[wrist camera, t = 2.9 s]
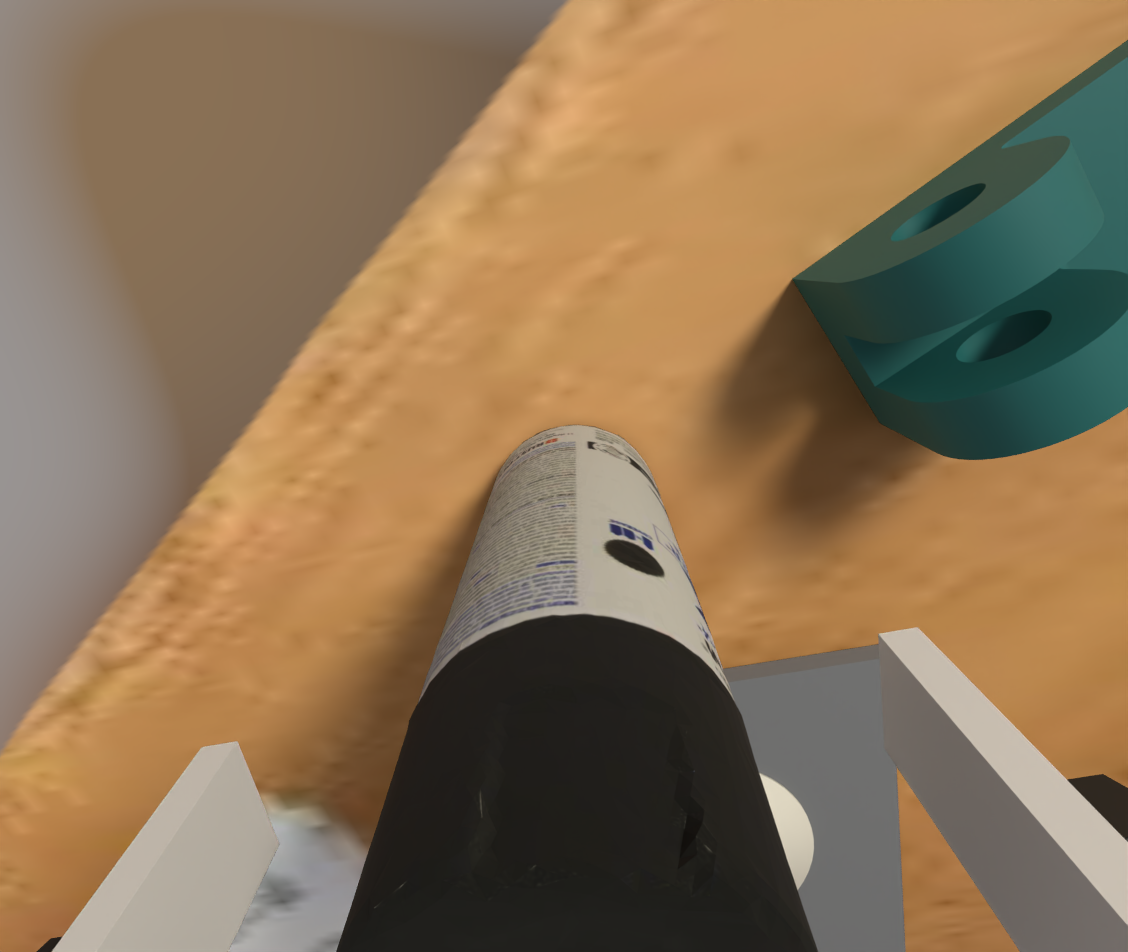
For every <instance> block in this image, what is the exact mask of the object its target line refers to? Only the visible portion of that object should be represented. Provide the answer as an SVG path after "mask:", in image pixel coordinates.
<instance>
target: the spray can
mask: <svg viewBox="0 0 1128 952" xmlns="http://www.w3.org/2000/svg"><path fill="white" fill-rule="evenodd" d="M336 952H818V950H817V947H816V944H815V941H814V938H813V935H812V932H811V929H810V926H809V923H808V920H807V917H806V914H805V911H804V909H803V906H802V903H801V899H800V896H799V893H798V890H797V887H796V884H795V881H794V878H793V875H792V872H791V869H790V866H789V864H788V861H787V858H786V854H785V851H784V848H783V845H782V841H781V838H780V835H779V832H778V829H777V826H776V823H775V820H774V817H773V814H772V811H771V808H770V805H769V801H768V798H767V795H766V792H765V789H764V786H763V783H762V780H761V777H760V774H759V771H758V768H757V765H756V762H755V759H754V755H753V752H752V748H751V745H750V741H749V738H748V734H747V731H746V728H745V724H744V721H743V718H742V715H741V713H740V711H739V709H738V707H737V705H736V703H735V701H734V698H733V696H732V693H731V690H730V687H729V684H728V681H727V679H726V676H725V674H724V671H723V668H722V665H721V662H720V660H719V657H718V654H717V651H716V648H715V645H714V642H713V639H712V636H711V633H710V630H709V628H708V625H707V622H706V620H705V617H704V614H703V612H702V609H701V606H700V603H699V600H698V598H697V595H696V592H695V589H694V587H693V584H692V582H691V579H690V576H689V574H688V570H687V567H686V565H685V562H684V560H683V557H682V554H681V551H680V548H679V546H678V543H677V540H676V538H675V535H674V532H673V530H672V527H671V524H670V522H669V519H668V516H667V513H666V510H665V508H664V505H663V503H662V500H661V497H660V493H659V491H658V488H657V486H656V483H655V481H654V478H653V476H652V474H651V472H650V470H649V468H648V466H647V465H646V463H645V461H644V460H643V459H642V457H641V456H640V455H639V453H638V452H637V451H636V450H635V449H634V448H633V447H632V446H631V445H630V444H629V443H628V442H627V441H625V440H624V439H623V438H622V437H620V436H619V435H616V434H613V433H611V432H608V431H605V430H603V429H600V428H597V427H593V426H584V425H568V426H561V427H556V428H552V429H548V430H545V431H542V432H540V433H538V434H536V435H534V436H533V437H531V438H529V439H527V440H526V441H524V442H523V443H522V444H521V445H520V446H519V447H518V448H517V449H516V450H515V451H514V452H513V453H512V454H511V455H510V456H509V458H508V459H507V460H506V462H505V463H504V465H503V466H502V468H501V469H500V471H499V474H498V476H497V478H496V481H495V484H494V487H493V489H492V492H491V495H490V498H489V501H488V503H487V506H486V508H485V512H484V515H483V518H482V521H481V524H480V526H479V529H478V532H477V535H476V538H475V541H474V544H473V546H472V549H471V552H470V555H469V558H468V561H467V563H466V566H465V569H464V572H463V575H462V578H461V580H460V583H459V586H458V589H457V592H456V595H455V598H454V601H453V604H452V607H451V610H450V612H449V615H448V618H447V621H446V624H445V626H444V629H443V632H442V635H441V638H440V640H439V643H438V645H437V648H436V651H435V655H434V658H433V662H432V664H431V667H430V669H429V671H428V674H427V677H426V680H425V683H424V686H423V690H422V693H421V696H420V699H419V701H418V704H417V706H416V708H415V710H414V712H413V714H412V716H411V718H410V720H409V725H408V730H407V733H406V737H405V740H404V743H403V746H402V749H401V752H400V755H399V759H398V762H397V765H396V768H395V771H394V775H393V778H392V781H391V784H390V787H389V790H388V793H387V796H386V800H385V803H384V806H383V809H382V812H381V815H380V818H379V822H378V825H377V828H376V831H375V834H374V837H373V840H372V843H371V846H370V849H369V852H368V855H367V858H366V861H365V864H364V867H363V871H362V874H361V877H360V880H359V883H358V886H357V890H356V893H355V896H354V899H353V902H352V906H351V909H350V912H349V915H348V918H347V921H346V924H345V927H344V930H343V933H342V936H341V939H340V942H339V945H338V948H337V951H336Z"/></svg>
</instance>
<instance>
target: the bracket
mask: <svg viewBox="0 0 1128 952" xmlns="http://www.w3.org/2000/svg"><path fill="white" fill-rule="evenodd" d="M792 280H793V281H794V283H795V285H796V286H797V288H798V289H799V291H800V293H801V294H802V296H803V298H804V299H805V301H806V303H807V304H808V306H809V308H810V309H811V311H812V312H813V314H814V316H815V317H816V319H817V321H818V322H819V324H820V326H821V327H822V329H823V330H824V332H825V334H826V335H827V337H828V339H829V340H830V342H831V344H832V345H833V347H834V349H835V350H836V352H837V353H838V355H839V357H840V358H841V360H842V362H843V363H844V365H845V367H846V368H847V370H848V372H849V373H850V375H851V376H852V378H853V380H854V381H855V383H856V385H857V386H858V388H859V390H860V391H861V393H862V395H863V396H864V398H865V399H866V401H867V403H868V404H869V406H870V408H871V409H872V411H873V413H874V414H875V416H876V417H877V419H878V421H879V422H880V423H881V424H882V425H884V426H886V427H888V428H890V429H892V430H894V431H896V432H898V433H900V434H902V435H904V436H905V437H907V438H909V439H911V440H913V441H915V442H917V443H919V444H921V445H923V446H925V447H927V448H928V449H930V450H932V451H934V452H936V453H938V454H941V455H943V456H946V457H950V458H956V459H965V460H983V459H994V458H1001V457H1007V456H1012V455H1017V454H1022V453H1026V452H1030V451H1034V450H1037V449H1040V448H1044V447H1047V446H1050V445H1053V444H1056V443H1058V442H1061V441H1064V440H1066V439H1069V438H1071V437H1074V436H1076V435H1078V434H1081V433H1083V432H1085V431H1087V430H1089V429H1091V428H1093V427H1095V426H1097V425H1099V424H1101V423H1103V422H1105V421H1106V420H1108V419H1110V418H1111V417H1113V416H1115V415H1116V414H1118V413H1120V412H1121V411H1123V410H1124V409H1125V408H1127V407H1128V40H1127V41H1126V42H1124V43H1123V44H1122V45H1120V46H1119V47H1117V48H1116V49H1115V50H1113V51H1112V52H1110V53H1109V54H1108V55H1106V56H1105V57H1103V58H1102V59H1101V60H1099V61H1098V62H1096V63H1095V64H1093V65H1092V66H1091V67H1089V68H1088V69H1086V70H1085V71H1084V72H1082V73H1081V74H1079V75H1078V76H1077V77H1075V78H1074V79H1072V80H1071V81H1070V82H1068V83H1067V84H1065V85H1064V86H1063V87H1061V88H1060V89H1058V90H1057V91H1056V92H1054V93H1053V94H1051V95H1050V96H1049V97H1047V98H1046V99H1044V100H1043V101H1042V102H1040V103H1039V104H1037V105H1036V106H1034V107H1033V108H1032V109H1030V110H1029V111H1027V112H1026V113H1025V114H1023V115H1022V116H1020V117H1019V118H1018V119H1016V120H1015V121H1013V122H1012V123H1011V124H1009V125H1008V126H1006V127H1005V128H1004V129H1002V130H1001V131H999V132H998V133H997V134H995V135H994V136H992V137H991V138H990V139H988V140H987V141H985V142H984V143H983V144H981V145H980V146H978V147H977V148H976V149H974V150H973V151H971V152H970V153H968V154H967V155H966V156H964V157H963V158H961V159H960V160H959V161H957V162H956V163H954V164H953V165H952V166H950V167H949V168H947V169H946V170H945V171H943V172H942V173H940V174H939V175H938V176H936V177H935V178H933V179H932V180H931V181H929V182H928V183H926V184H925V185H924V186H922V187H921V188H919V189H918V190H917V191H915V192H914V193H912V194H911V195H909V196H908V197H907V198H905V199H904V200H902V201H901V202H900V203H898V204H897V205H895V206H894V207H893V208H891V209H890V210H888V211H887V212H886V213H884V214H883V215H881V216H880V217H879V218H877V219H876V220H874V221H873V222H872V223H870V224H869V225H867V226H866V227H865V228H863V229H862V230H860V231H859V232H858V233H856V234H855V235H853V236H852V237H851V238H849V239H848V240H846V241H845V242H843V243H842V244H841V245H839V246H838V247H836V248H835V249H834V250H832V251H831V252H829V253H828V254H827V255H825V256H824V257H822V258H821V259H820V260H818V261H817V262H815V263H814V264H813V265H811V266H810V267H808V268H807V269H806V270H804V271H803V272H801V273H800V274H799V275H797V276H796V277H794V278H793V279H792Z"/></svg>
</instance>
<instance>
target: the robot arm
mask: <svg viewBox="0 0 1128 952" xmlns="http://www.w3.org/2000/svg"><path fill="white" fill-rule="evenodd" d="M878 638H879V656H880V675H881V694H882V713H883V731H884V748H885V750H886V751H887V753H888V754H889V756H890V757H891V759H892V760H893V762H894V763H895V765H896V766H897V768H898V769H899V771H900V772H901V774H902V775H903V777H904V778H905V780H906V781H907V783H908V784H909V786H910V787H911V789H912V790H913V792H914V793H915V795H916V796H917V798H918V799H919V801H920V802H921V804H922V805H923V807H924V808H925V810H926V811H927V813H928V814H929V816H930V817H931V819H932V820H933V822H934V823H935V825H936V826H937V828H938V829H939V831H940V832H941V834H942V835H943V837H944V838H945V840H946V841H947V843H948V844H949V846H950V847H951V849H952V850H953V852H954V853H955V855H956V856H957V858H958V859H959V861H960V862H961V864H962V865H963V867H964V868H965V870H966V871H967V873H968V874H969V876H970V877H971V879H972V880H973V882H974V883H975V885H976V886H977V888H978V889H979V891H980V892H981V894H982V895H983V897H984V898H985V900H986V901H987V903H988V904H989V906H990V907H991V909H992V910H993V912H994V913H995V915H996V916H997V918H998V919H999V921H1000V922H1001V924H1002V925H1003V927H1004V928H1005V930H1006V931H1007V933H1008V934H1009V936H1010V937H1011V939H1012V940H1013V942H1014V943H1015V945H1016V946H1017V948H1018V949H1019V951H1020V952H1128V788H1127V787H1125V786H1123V785H1121V784H1120V783H1118V782H1116V781H1114V780H1113V779H1111V778H1109V777H1107V776H1105V775H1104V774H1101V775H1094V776H1088V777H1081V778H1075V779H1068V780H1067V779H1066V778H1065V777H1064V776H1063V775H1062V774H1061V773H1060V772H1059V771H1058V770H1057V769H1056V768H1055V767H1054V766H1053V765H1052V764H1051V763H1050V762H1049V761H1048V760H1047V759H1046V758H1045V757H1044V756H1043V755H1042V754H1041V753H1040V752H1039V751H1038V750H1037V749H1036V748H1035V747H1034V746H1033V745H1032V744H1031V743H1030V742H1029V741H1028V740H1027V739H1026V738H1025V737H1024V735H1023V734H1022V733H1021V732H1020V731H1019V730H1018V729H1017V728H1016V727H1015V726H1014V725H1013V724H1012V723H1011V722H1010V721H1009V720H1008V719H1007V718H1006V717H1005V716H1004V715H1003V714H1002V713H1001V712H1000V711H999V710H998V709H997V708H996V707H995V706H994V705H993V704H992V703H991V702H990V701H989V700H988V699H987V698H986V697H985V696H984V695H983V694H982V693H981V692H980V691H979V689H978V688H977V687H976V686H975V685H974V684H973V683H972V682H971V681H970V680H969V679H968V678H967V677H966V676H965V675H964V674H963V673H962V672H961V671H960V670H959V669H958V668H957V667H956V666H955V665H954V664H953V663H952V662H951V661H950V660H949V659H948V658H947V657H946V656H945V655H944V654H943V653H942V652H941V651H940V650H939V649H938V648H937V647H936V646H935V644H934V643H933V642H932V641H931V640H930V639H929V638H928V637H927V636H926V635H925V634H924V633H923V632H922V631H921V630H920V629H919V628H918V627H917V628H911V629H905V630H899V631H893V632H887V633H881V634H878ZM278 846H279V842H278V839H277V837H276V834H275V832H274V830H273V827H272V825H271V822H270V820H269V817H268V815H267V812H266V810H265V808H264V805H263V803H262V800H261V798H260V795H259V793H258V791H257V788H256V786H255V783H254V781H253V778H252V776H251V773H250V771H249V769H248V766H247V764H246V761H245V759H244V756H243V754H242V751H241V749H240V747H239V744H238V742H237V741H236V742H230V743H224V744H218V745H212V746H206V747H202V748H201V749H200V750H199V752H198V753H197V754H196V756H195V757H194V759H193V760H192V761H191V763H190V764H189V765H188V767H187V768H186V769H185V771H184V772H183V774H182V775H181V776H180V778H179V779H178V780H177V782H176V783H175V784H174V786H173V787H172V789H171V790H170V791H169V793H168V794H167V795H166V797H165V798H164V799H163V801H162V802H161V804H160V805H159V806H158V808H157V809H156V810H155V812H154V813H153V814H152V816H151V817H150V818H149V820H148V821H147V823H146V824H145V825H144V827H143V828H142V829H141V831H140V832H139V833H138V835H137V836H136V838H135V839H134V840H133V842H132V843H131V844H130V846H129V847H128V848H127V850H126V851H125V853H124V854H123V855H122V857H121V858H120V859H119V861H118V862H117V863H116V865H115V866H114V868H113V869H112V870H111V872H110V873H109V874H108V876H107V877H106V878H105V880H104V881H103V883H102V884H101V885H100V887H99V888H98V889H97V891H96V892H95V893H94V895H93V896H92V897H91V899H90V900H89V902H88V903H87V904H86V906H85V907H84V908H83V910H82V911H81V912H80V914H79V915H78V917H77V918H76V919H75V921H74V922H73V923H72V925H71V926H70V927H69V929H68V930H67V932H66V933H65V934H64V936H63V937H57V938H51V939H50V940H49V941H48V942H47V943H45V944H44V945H43V946H42V947H41V948H40V949H39V950H38V951H37V952H228V951H229V949H230V947H231V944H232V942H233V940H234V938H235V936H236V934H237V932H238V930H239V928H240V926H241V924H242V921H243V919H244V917H245V915H246V913H247V911H248V909H249V907H250V905H251V903H252V901H253V899H254V896H255V894H256V892H257V890H258V888H259V886H260V884H261V882H262V880H263V878H264V876H265V873H266V871H267V869H268V867H269V865H270V863H271V861H272V859H273V857H274V855H275V853H276V851H277V848H278Z"/></svg>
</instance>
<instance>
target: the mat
mask: <svg viewBox="0 0 1128 952" xmlns="http://www.w3.org/2000/svg"><path fill="white" fill-rule="evenodd" d="M723 671H724V674H725V676H726V679H727V681H728V684H729V687H730V690H731V693H732V696H733V698H734V701H735V703H736V705H737V707H738V709H739V711H740V713H741V715H742V718H743V721H744V724H745V728H746V731H747V734H748V738H749V741H750V745H751V748H752V752H753V755H754V759H755V762H756V765H757V768H758V771H759V774H760V777H761V780H762V783H763V786H764V789H765V792H766V795H767V798H768V801H769V805H770V808H771V811H772V814H773V817H774V820H775V823H776V826H777V829H778V832H779V835H780V838H781V841H782V845H783V848H784V851H785V854H786V858H787V861H788V864H789V866H790V869H791V872H792V875H793V878H794V881H795V884H796V887H797V890H798V893H799V896H800V899H801V903H802V906H803V909H804V911H805V914H806V917H807V920H808V923H809V926H810V929H811V932H812V935H813V938H814V941H815V944H816V947H817V950H818V952H905V933H904V912H903V891H902V871H901V850H900V830H899V809H898V789H897V768H896V765H895V763H894V762H893V760H892V759H891V757H890V756H889V754H888V753H887V751H886V750H885V748H884V731H883V713H882V694H881V675H880V656H879V644H877V645H871V646H865V647H858V648H852V649H846V650H839V651H833V652H827V653H821V654H814V655H808V656H802V657H795V658H789V659H783V660H776V661H770V662H764V663H758V664H751V665H745V666H739V667H732V668H726V669H723Z"/></svg>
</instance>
